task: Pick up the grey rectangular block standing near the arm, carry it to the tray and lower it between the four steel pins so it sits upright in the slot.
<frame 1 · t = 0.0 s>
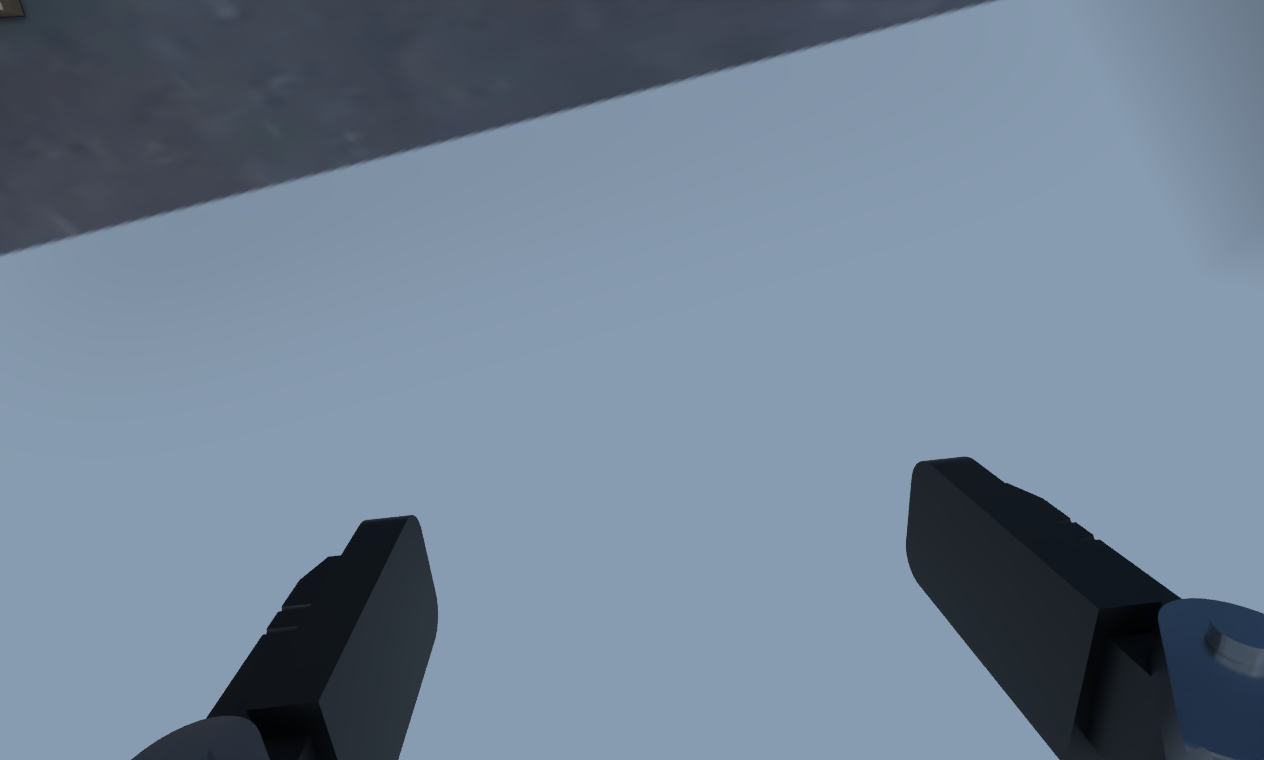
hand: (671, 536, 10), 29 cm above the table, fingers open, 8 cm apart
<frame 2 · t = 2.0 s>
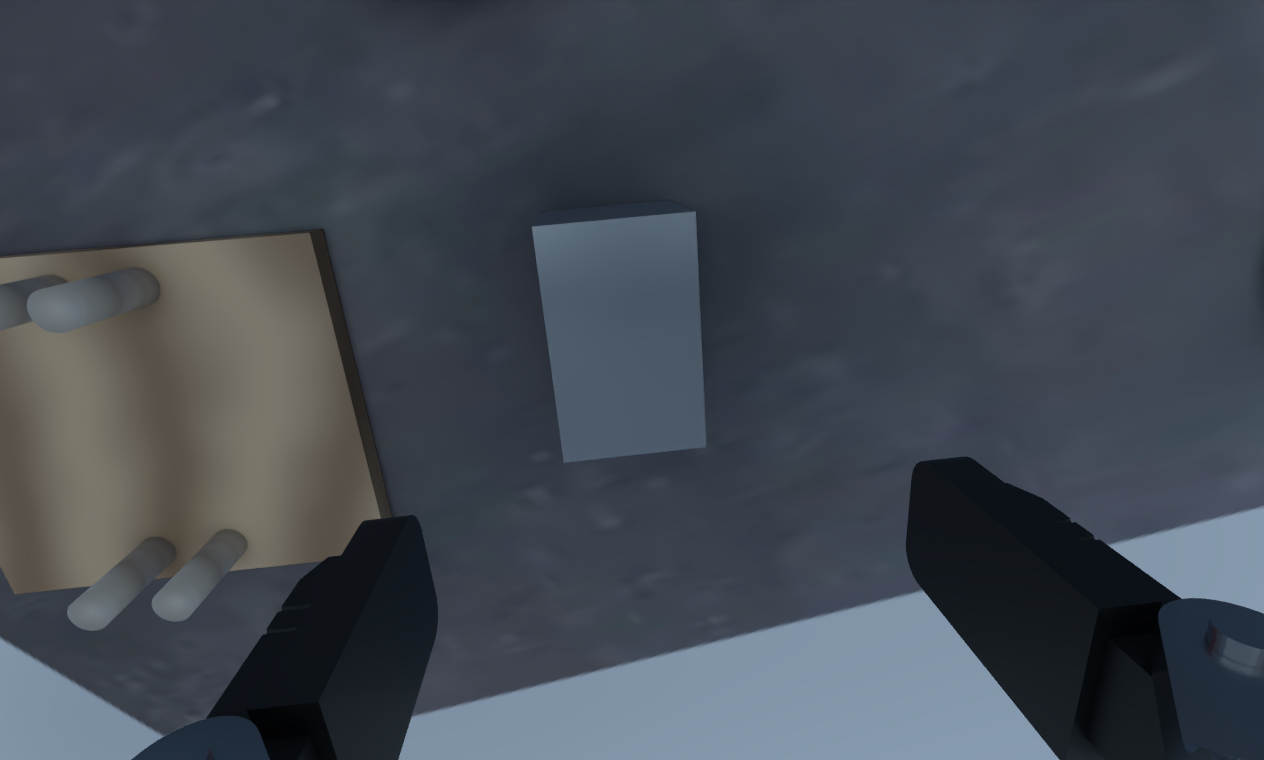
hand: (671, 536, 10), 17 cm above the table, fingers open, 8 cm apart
grey rectangular block: (615, 304, 26), on the table
tray: (169, 416, 26), on the table
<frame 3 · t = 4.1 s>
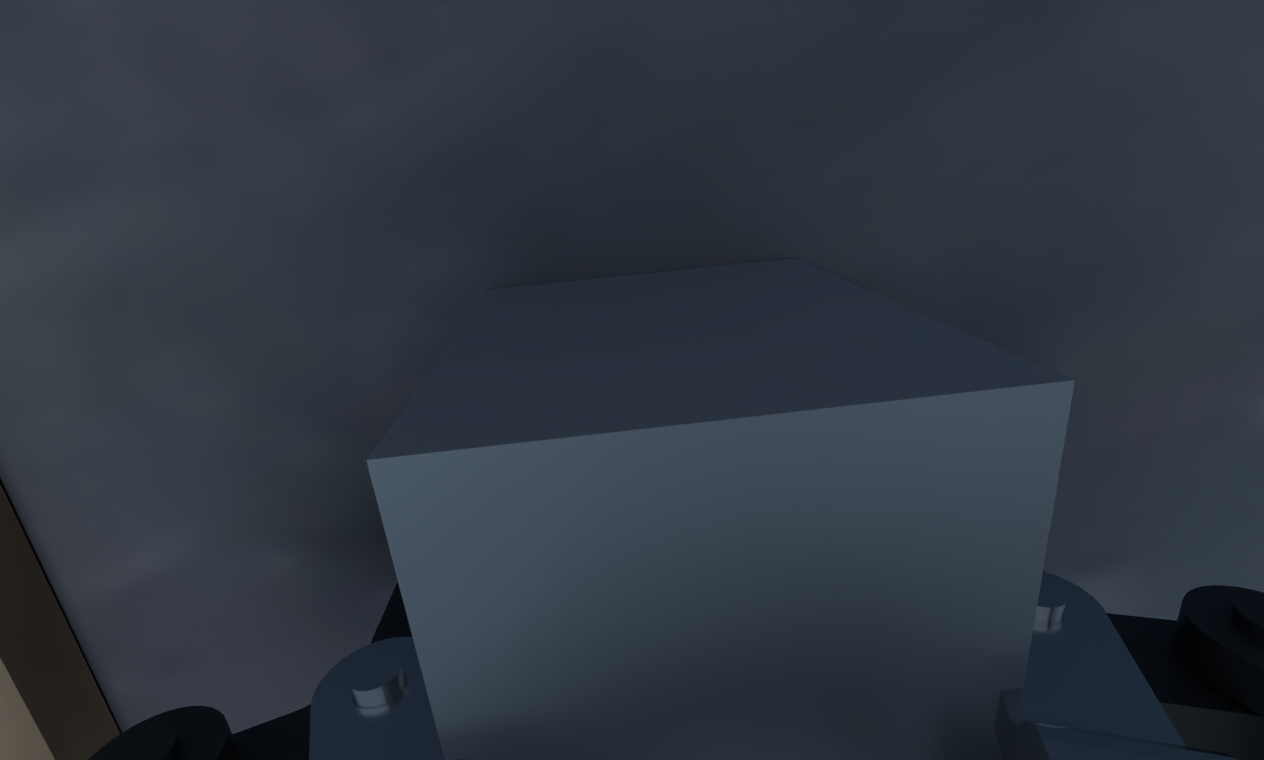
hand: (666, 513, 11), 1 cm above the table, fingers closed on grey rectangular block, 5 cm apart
grey rectangular block: (662, 490, 11), on the table, touching gripper
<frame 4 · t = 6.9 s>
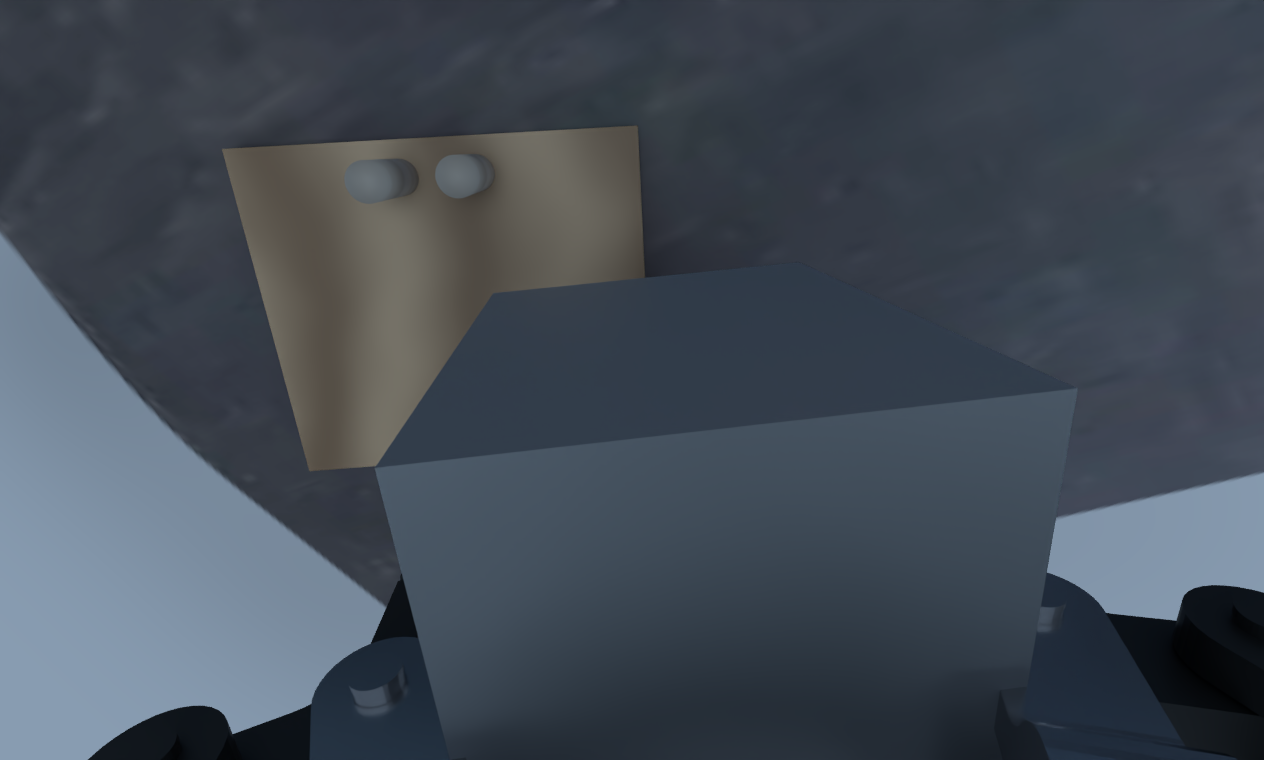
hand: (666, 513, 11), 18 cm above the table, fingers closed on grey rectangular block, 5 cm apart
grey rectangular block: (664, 493, 11), point 18 cm above the table, touching gripper
tray: (465, 305, 27), on the table
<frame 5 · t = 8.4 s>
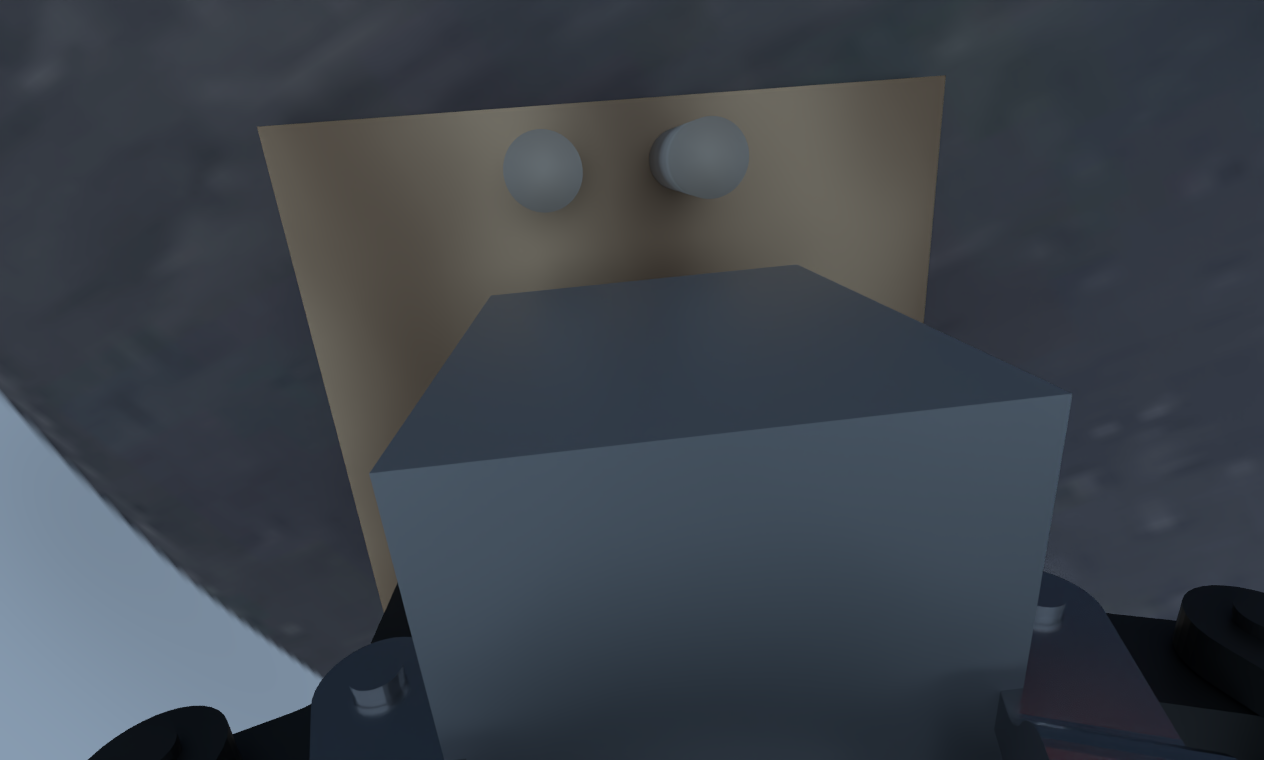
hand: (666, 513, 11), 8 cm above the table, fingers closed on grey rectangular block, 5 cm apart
grey rectangular block: (662, 495, 11), point 7 cm above the table, touching gripper
tray: (629, 369, 18), on the table
when the fingers open (3 cm above the table, at t = 9.9 s): grey rectangular block drops 1 cm, resting on tray.
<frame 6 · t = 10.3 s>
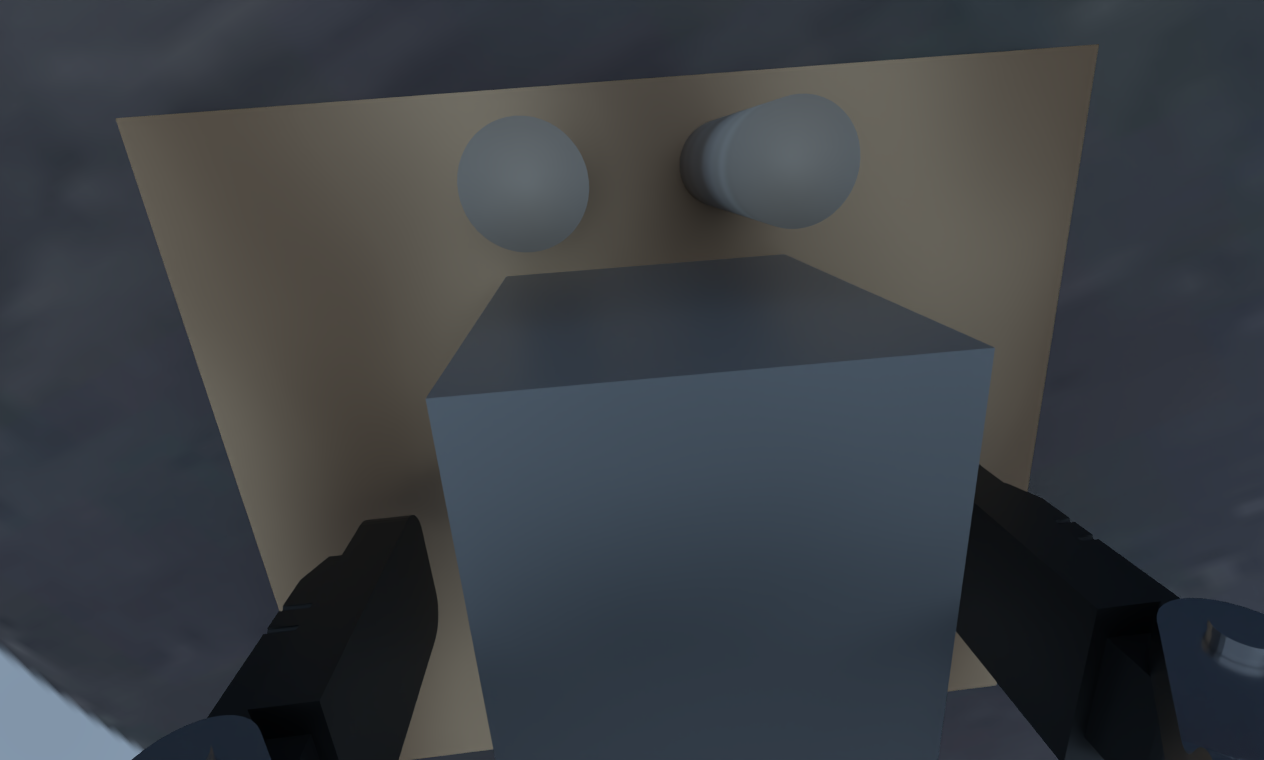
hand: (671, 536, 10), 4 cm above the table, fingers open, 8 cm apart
grey rectangular block: (658, 465, 12), point 1 cm above the table, touching tray
tray: (648, 439, 13), on the table
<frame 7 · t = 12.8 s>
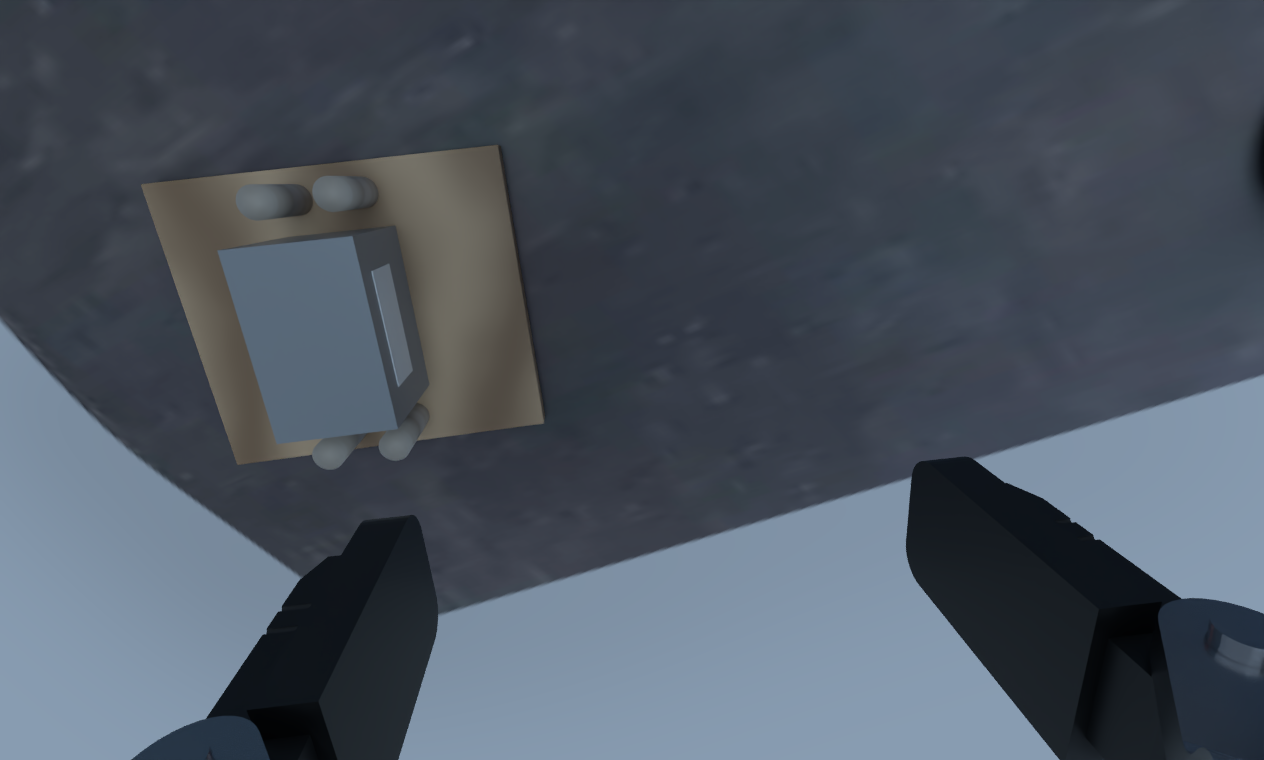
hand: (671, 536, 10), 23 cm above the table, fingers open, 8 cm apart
grey rectangular block: (361, 314, 30), point 1 cm above the table, touching tray
tray: (367, 309, 31), on the table
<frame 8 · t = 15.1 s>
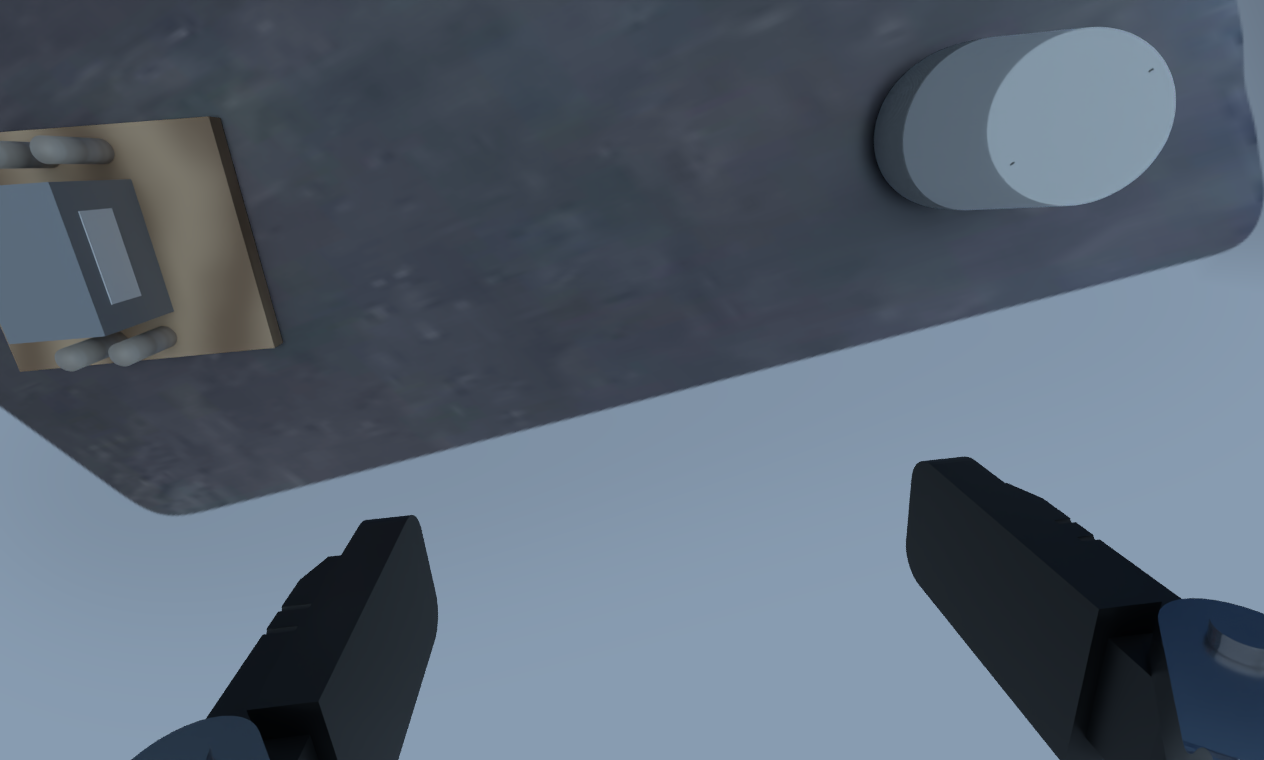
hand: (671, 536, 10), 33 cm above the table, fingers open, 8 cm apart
smart speaker: (927, 131, 40), on the table
grey rectangular block: (111, 250, 37), point 1 cm above the table, touching tray
tray: (123, 248, 39), on the table
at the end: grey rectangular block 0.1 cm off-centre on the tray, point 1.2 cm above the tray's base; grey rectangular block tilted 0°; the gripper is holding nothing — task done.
